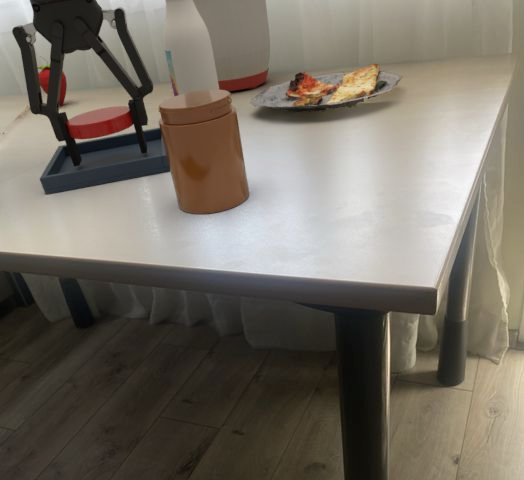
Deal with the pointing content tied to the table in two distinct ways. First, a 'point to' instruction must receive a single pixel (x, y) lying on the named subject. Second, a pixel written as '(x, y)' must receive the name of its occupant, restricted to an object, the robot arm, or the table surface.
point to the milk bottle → (188, 49)
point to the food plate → (327, 90)
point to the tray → (105, 162)
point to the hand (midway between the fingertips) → (111, 156)
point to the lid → (100, 122)
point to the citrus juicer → (237, 41)
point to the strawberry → (45, 80)
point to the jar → (204, 151)
